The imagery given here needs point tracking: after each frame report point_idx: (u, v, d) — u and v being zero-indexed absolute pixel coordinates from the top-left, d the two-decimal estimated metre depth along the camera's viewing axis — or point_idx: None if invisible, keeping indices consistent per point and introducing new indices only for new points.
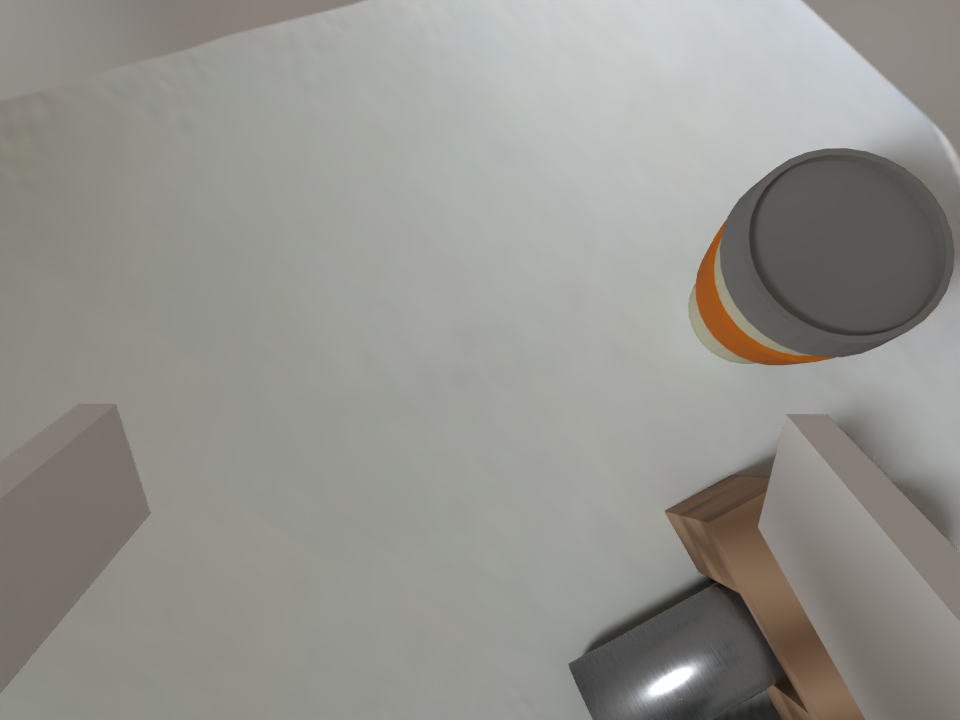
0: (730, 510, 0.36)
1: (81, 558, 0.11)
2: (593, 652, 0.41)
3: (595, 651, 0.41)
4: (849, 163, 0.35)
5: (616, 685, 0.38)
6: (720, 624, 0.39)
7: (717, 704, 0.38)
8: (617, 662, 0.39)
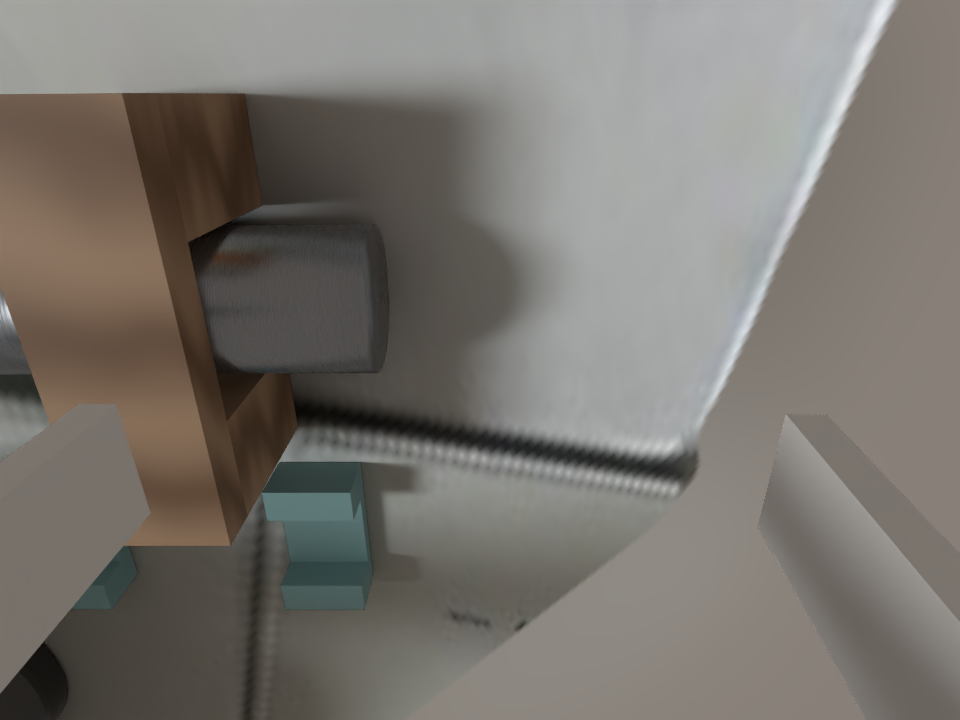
0: None
1: (81, 558, 0.11)
2: None
3: None
4: None
5: None
6: None
7: (2, 362, 0.26)
8: None
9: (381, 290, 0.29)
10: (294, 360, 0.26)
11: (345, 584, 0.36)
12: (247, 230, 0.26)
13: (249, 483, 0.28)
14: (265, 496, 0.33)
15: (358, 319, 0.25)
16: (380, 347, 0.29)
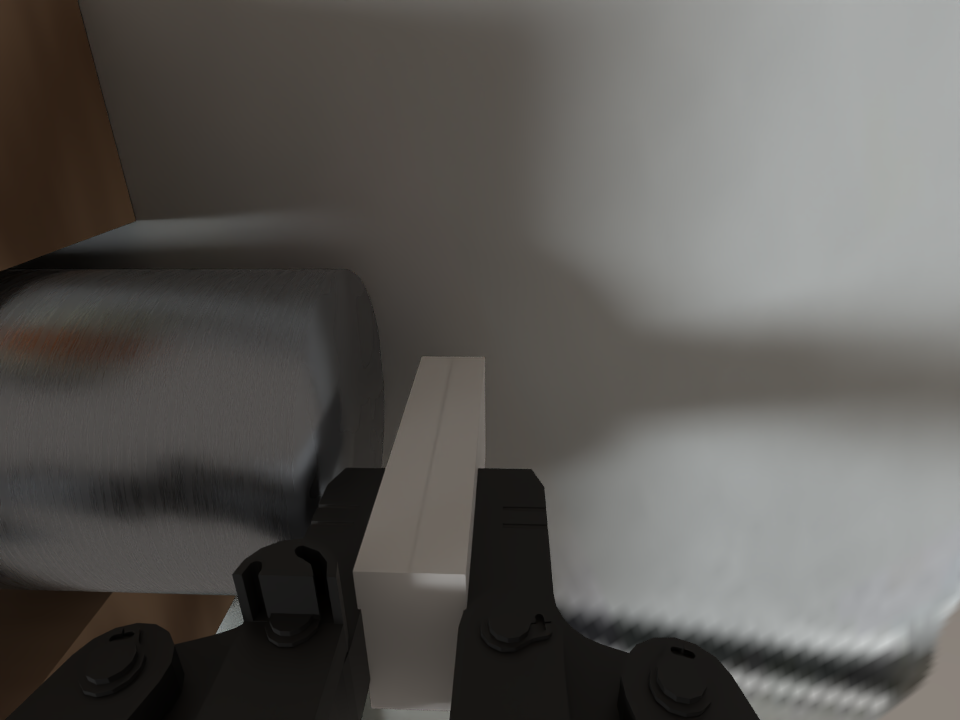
0: None
1: None
2: None
3: None
4: None
5: None
6: None
7: None
8: None
9: (364, 396, 0.14)
10: (153, 589, 0.11)
11: None
12: (47, 287, 0.11)
13: None
14: None
15: (287, 523, 0.10)
16: None
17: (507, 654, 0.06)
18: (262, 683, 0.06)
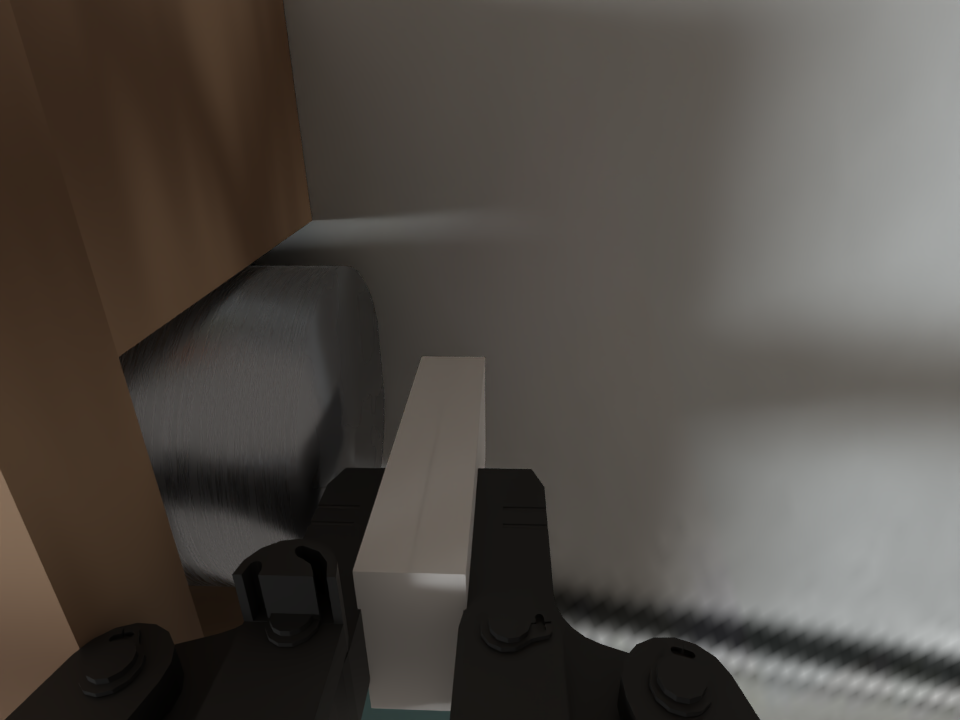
0: None
1: None
2: None
3: None
4: None
5: None
6: None
7: None
8: None
9: (365, 392, 0.14)
10: None
11: None
12: None
13: None
14: None
15: (290, 512, 0.10)
16: None
17: (507, 654, 0.06)
18: (262, 683, 0.06)
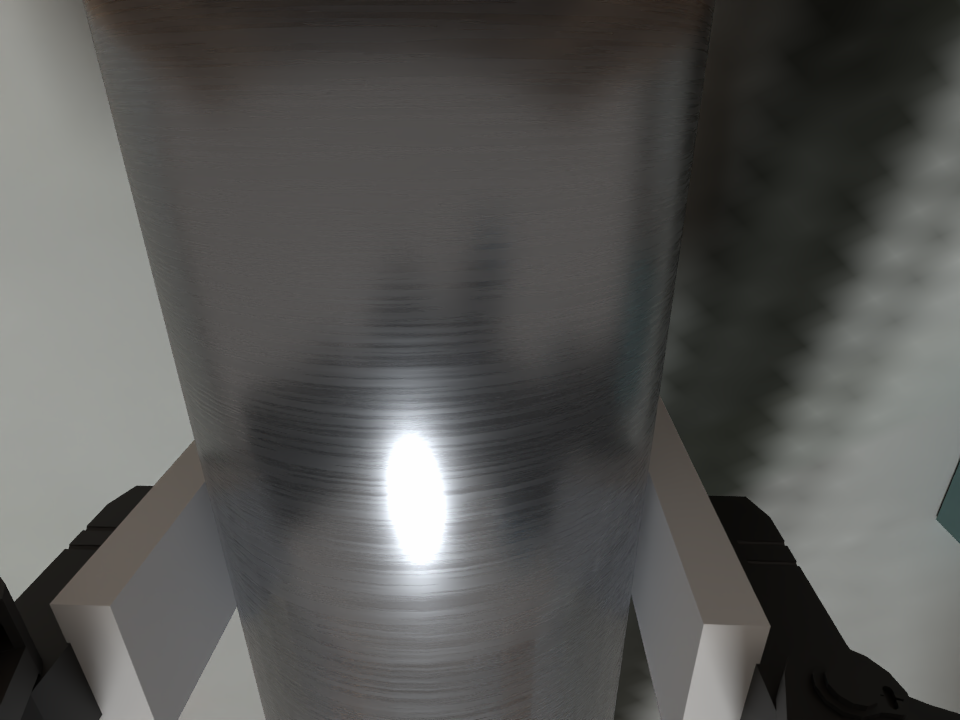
0: None
1: None
2: None
3: None
4: None
5: None
6: (220, 483, 0.07)
7: (539, 677, 0.08)
8: None
9: None
10: None
11: None
12: None
13: None
14: None
15: None
16: None
17: None
18: None
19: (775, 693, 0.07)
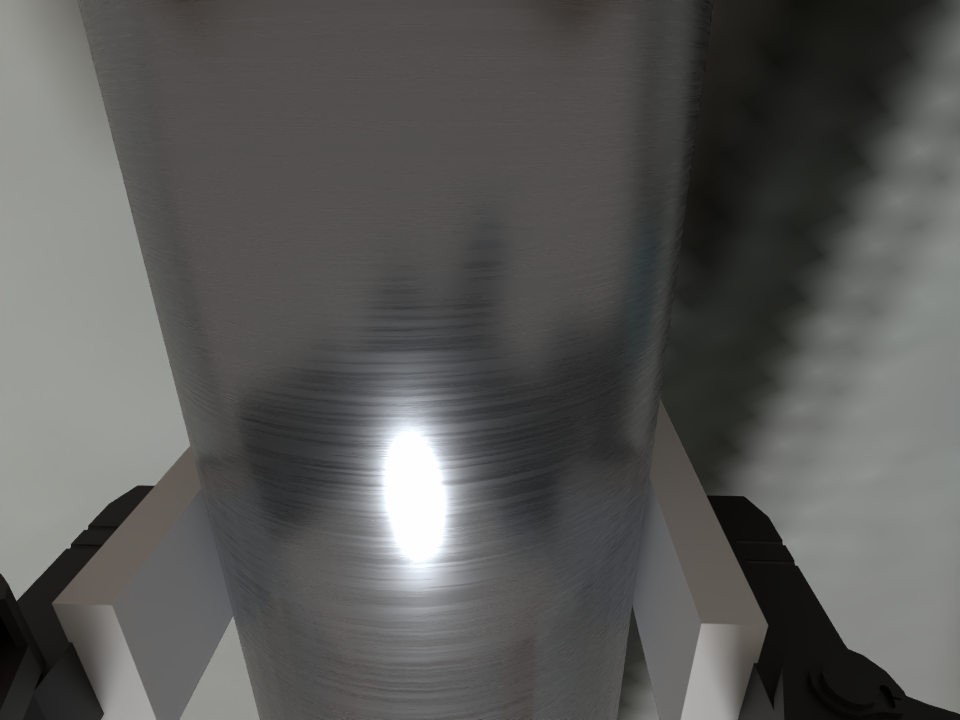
0: None
1: None
2: None
3: None
4: None
5: None
6: (213, 477, 0.07)
7: (540, 676, 0.08)
8: None
9: None
10: None
11: None
12: None
13: None
14: None
15: None
16: None
17: None
18: None
19: (772, 692, 0.07)
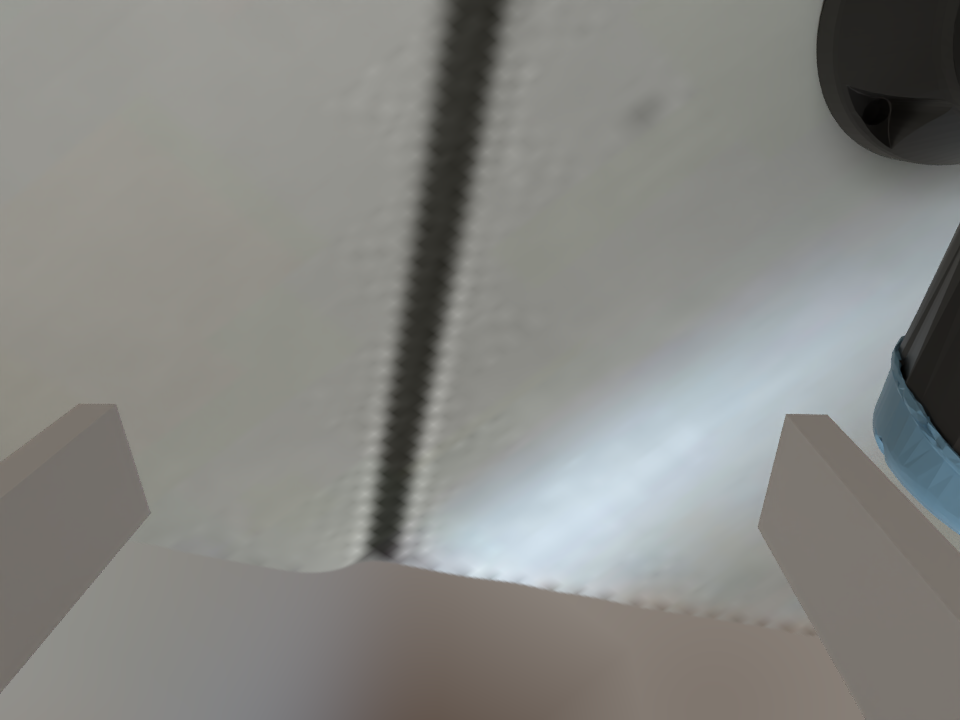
0: None
1: (81, 558, 0.11)
2: None
3: None
4: None
5: None
6: None
7: None
8: None
9: None
10: None
11: None
12: None
13: None
14: None
15: None
16: None
17: None
18: None
19: None
